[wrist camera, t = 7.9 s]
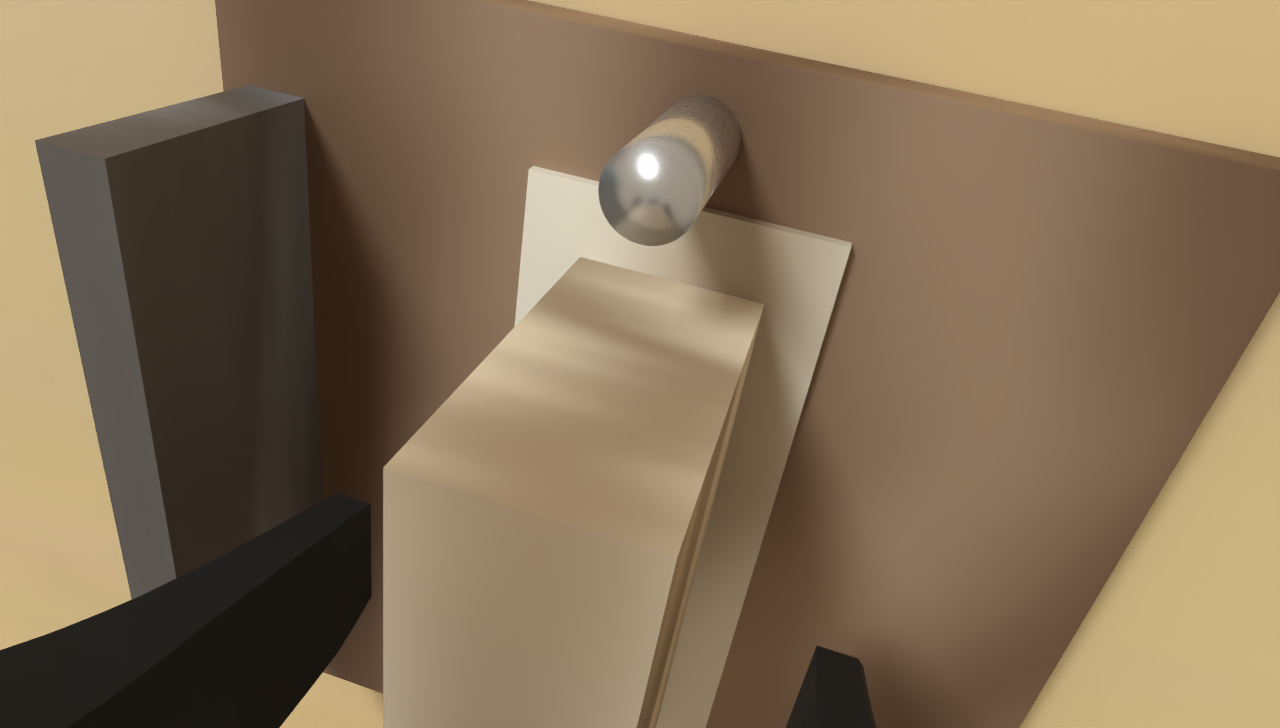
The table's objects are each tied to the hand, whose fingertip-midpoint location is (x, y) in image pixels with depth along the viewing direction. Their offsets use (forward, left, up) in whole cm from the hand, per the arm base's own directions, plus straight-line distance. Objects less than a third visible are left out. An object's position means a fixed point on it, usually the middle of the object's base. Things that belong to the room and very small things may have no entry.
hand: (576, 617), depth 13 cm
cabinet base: (0, 0, -4) cm, 4 cm away
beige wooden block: (0, 0, -3) cm, 3 cm away
